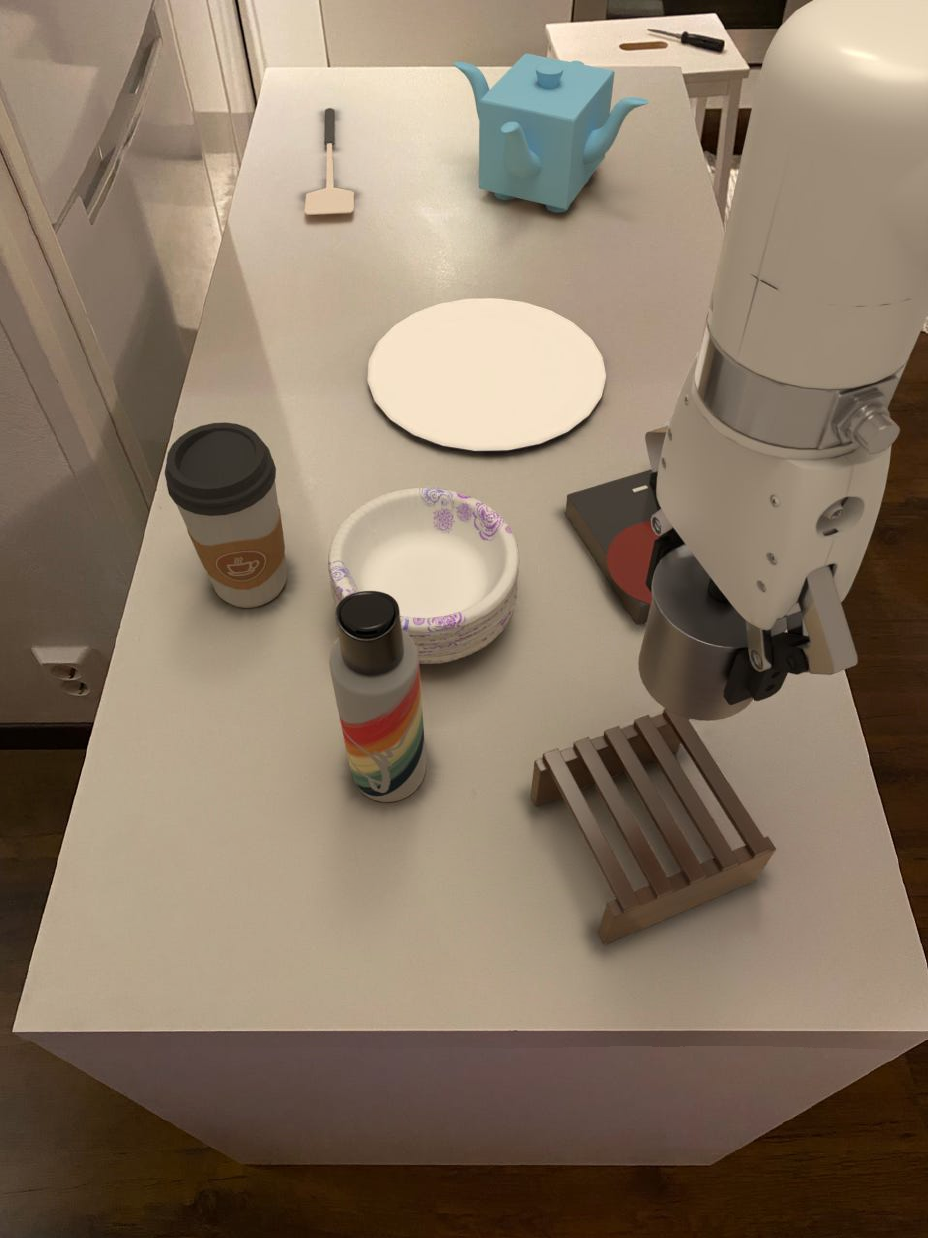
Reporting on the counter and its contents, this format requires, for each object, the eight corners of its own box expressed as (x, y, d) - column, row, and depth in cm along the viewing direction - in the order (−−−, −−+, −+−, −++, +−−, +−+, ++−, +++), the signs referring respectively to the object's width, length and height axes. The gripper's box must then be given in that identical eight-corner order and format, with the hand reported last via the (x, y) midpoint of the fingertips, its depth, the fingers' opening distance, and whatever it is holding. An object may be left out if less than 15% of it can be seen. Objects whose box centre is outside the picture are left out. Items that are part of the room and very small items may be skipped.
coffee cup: (205, 627, 80) (159, 502, 68) (201, 554, 85) (158, 425, 73) (304, 610, 81) (276, 484, 69) (294, 539, 86) (266, 410, 74)
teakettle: (576, 142, 130) (586, 23, 119) (638, 210, 120) (657, 87, 108) (447, 167, 126) (445, 47, 115) (500, 239, 116) (503, 115, 104)
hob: (686, 456, 92) (691, 436, 90) (780, 575, 83) (789, 555, 81) (554, 496, 89) (556, 476, 87) (637, 625, 80) (641, 605, 78)
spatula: (305, 225, 118) (304, 213, 117) (308, 113, 135) (307, 102, 134) (354, 222, 118) (353, 211, 117) (351, 111, 136) (350, 100, 135)
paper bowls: (526, 557, 85) (531, 494, 78) (501, 699, 76) (504, 641, 69) (360, 536, 86) (352, 472, 80) (317, 673, 77) (303, 613, 71)
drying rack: (671, 742, 73) (685, 700, 68) (756, 880, 66) (779, 845, 62) (530, 795, 70) (534, 756, 66) (604, 945, 64) (615, 913, 59)
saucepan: (612, 643, 55) (629, 549, 48) (795, 576, 58) (834, 479, 51) (675, 742, 51) (703, 655, 44) (869, 666, 54) (922, 573, 47)
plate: (422, 286, 110) (421, 277, 109) (631, 334, 104) (633, 324, 103) (327, 422, 96) (325, 412, 95) (564, 485, 90) (565, 475, 89)
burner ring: (683, 509, 85) (683, 508, 85) (741, 586, 79) (741, 586, 79) (587, 540, 83) (587, 539, 82) (640, 621, 77) (640, 620, 77)
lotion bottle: (349, 804, 70) (314, 648, 54) (353, 737, 73) (322, 571, 58) (426, 803, 70) (414, 647, 54) (427, 736, 74) (416, 571, 58)
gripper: (1032, 484, 33) (868, 740, 47) (753, 233, 43) (686, 507, 57) (852, 549, 31) (738, 794, 45) (605, 272, 41) (574, 545, 55)
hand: (710, 633), depth 51 cm, fingers closed on saucepan, 7 cm apart
